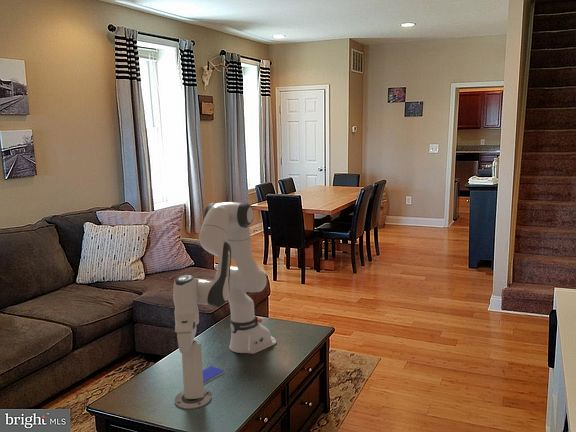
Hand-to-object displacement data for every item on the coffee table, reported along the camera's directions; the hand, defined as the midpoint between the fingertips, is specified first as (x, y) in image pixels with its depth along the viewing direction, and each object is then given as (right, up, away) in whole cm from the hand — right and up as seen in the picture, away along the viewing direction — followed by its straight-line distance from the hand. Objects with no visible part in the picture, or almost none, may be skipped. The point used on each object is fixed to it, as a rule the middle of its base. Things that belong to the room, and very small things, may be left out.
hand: (189, 353), depth 191 cm
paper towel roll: (+1, -18, +3) cm, 18 cm away
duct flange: (+1, -19, +4) cm, 19 cm away
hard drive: (+3, -16, +22) cm, 27 cm away
